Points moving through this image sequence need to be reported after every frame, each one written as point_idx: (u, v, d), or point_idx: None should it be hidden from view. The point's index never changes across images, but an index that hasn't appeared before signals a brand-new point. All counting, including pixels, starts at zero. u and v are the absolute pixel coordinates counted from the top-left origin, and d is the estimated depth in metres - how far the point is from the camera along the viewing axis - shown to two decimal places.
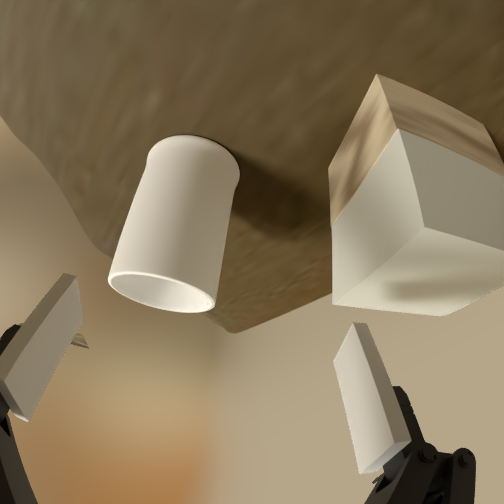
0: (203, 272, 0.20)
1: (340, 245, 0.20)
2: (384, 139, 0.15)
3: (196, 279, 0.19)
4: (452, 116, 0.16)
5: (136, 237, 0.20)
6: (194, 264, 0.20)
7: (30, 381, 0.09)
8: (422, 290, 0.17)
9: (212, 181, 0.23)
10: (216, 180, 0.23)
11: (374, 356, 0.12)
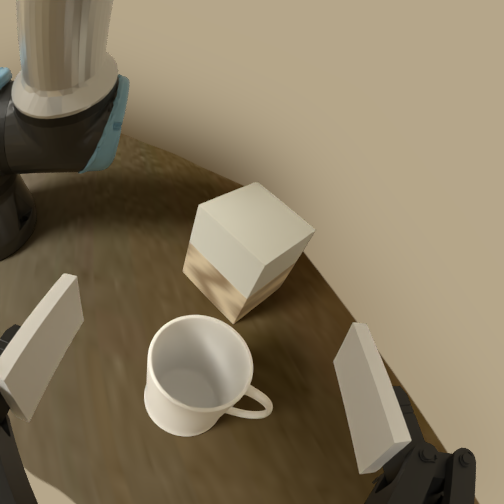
0: None
1: (243, 277, 0.34)
2: (195, 251, 0.38)
3: None
4: None
5: None
6: None
7: (30, 381, 0.09)
8: (262, 224, 0.35)
9: None
10: None
11: (374, 356, 0.12)
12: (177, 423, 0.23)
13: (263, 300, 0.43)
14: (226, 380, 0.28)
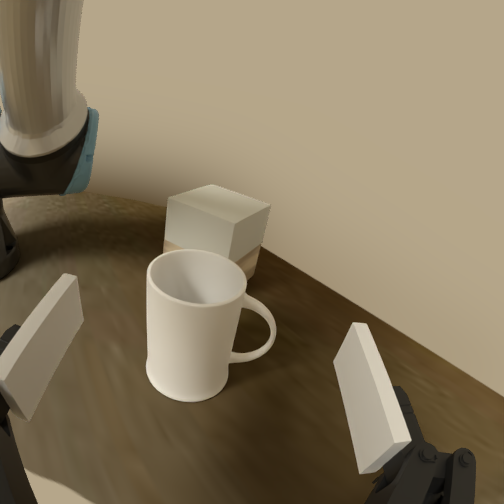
0: None
1: (219, 247, 0.37)
2: (171, 244, 0.41)
3: None
4: None
5: None
6: None
7: (30, 381, 0.09)
8: (224, 203, 0.40)
9: None
10: None
11: (374, 356, 0.12)
12: (185, 363, 0.24)
13: None
14: None
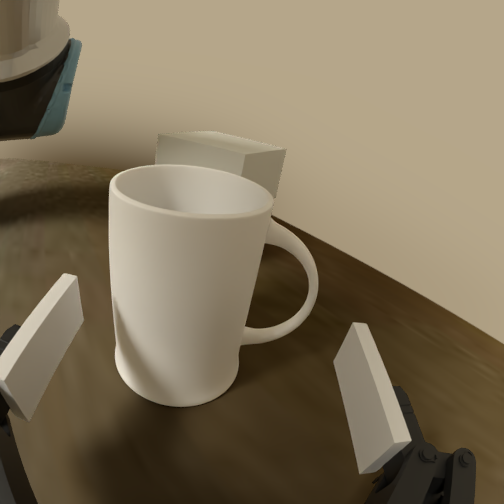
0: None
1: None
2: None
3: None
4: None
5: None
6: None
7: (30, 381, 0.09)
8: (229, 142, 0.30)
9: None
10: None
11: (374, 356, 0.12)
12: (169, 339, 0.14)
13: None
14: None
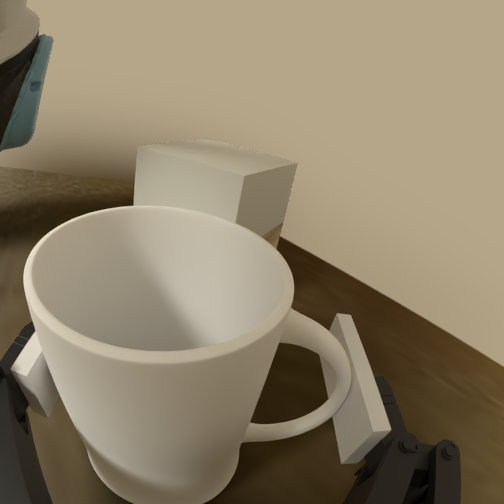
0: None
1: None
2: None
3: None
4: None
5: None
6: None
7: (51, 376, 0.09)
8: (226, 155, 0.24)
9: None
10: None
11: (356, 346, 0.12)
12: (143, 471, 0.08)
13: None
14: None
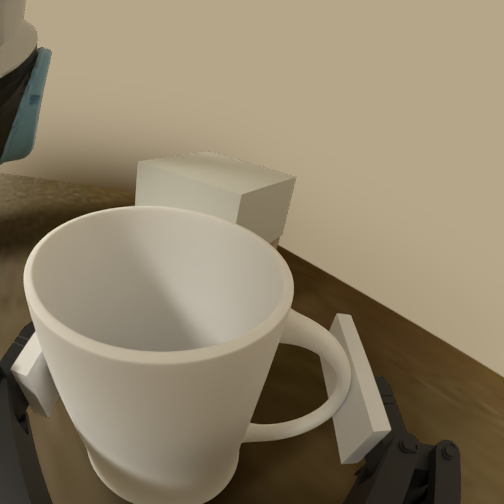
0: None
1: None
2: None
3: None
4: None
5: None
6: None
7: (50, 376, 0.09)
8: (225, 171, 0.25)
9: None
10: None
11: (356, 346, 0.12)
12: (143, 472, 0.08)
13: None
14: None
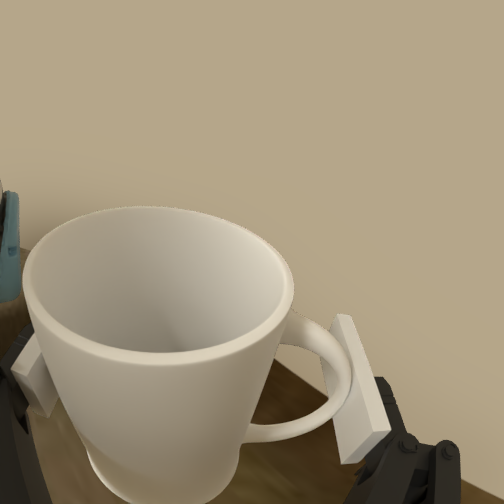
0: None
1: None
2: None
3: None
4: None
5: None
6: None
7: (50, 376, 0.09)
8: None
9: None
10: None
11: (356, 346, 0.12)
12: (142, 472, 0.08)
13: None
14: None
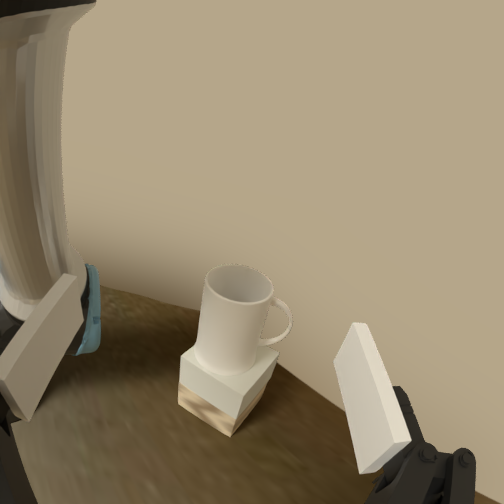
0: None
1: (229, 405, 0.38)
2: (185, 388, 0.42)
3: None
4: None
5: None
6: None
7: (30, 381, 0.09)
8: None
9: None
10: None
11: (374, 356, 0.12)
12: (230, 345, 0.35)
13: None
14: None
